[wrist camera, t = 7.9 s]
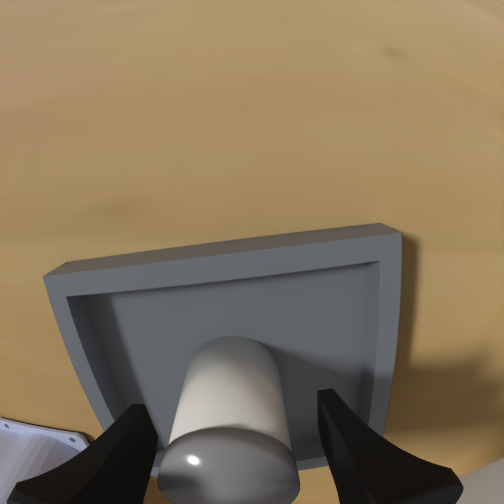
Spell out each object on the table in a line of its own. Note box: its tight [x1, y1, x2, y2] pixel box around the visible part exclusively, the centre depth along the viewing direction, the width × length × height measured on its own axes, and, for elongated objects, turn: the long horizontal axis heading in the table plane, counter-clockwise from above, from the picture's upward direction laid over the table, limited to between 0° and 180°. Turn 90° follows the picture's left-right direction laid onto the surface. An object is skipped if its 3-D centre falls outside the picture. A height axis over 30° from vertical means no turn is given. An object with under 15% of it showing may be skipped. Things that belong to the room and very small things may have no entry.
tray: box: [43, 223, 402, 476], centre depth 15 cm, size 15×13×2 cm
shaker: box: [157, 336, 300, 504], centre depth 12 cm, size 5×5×7 cm
